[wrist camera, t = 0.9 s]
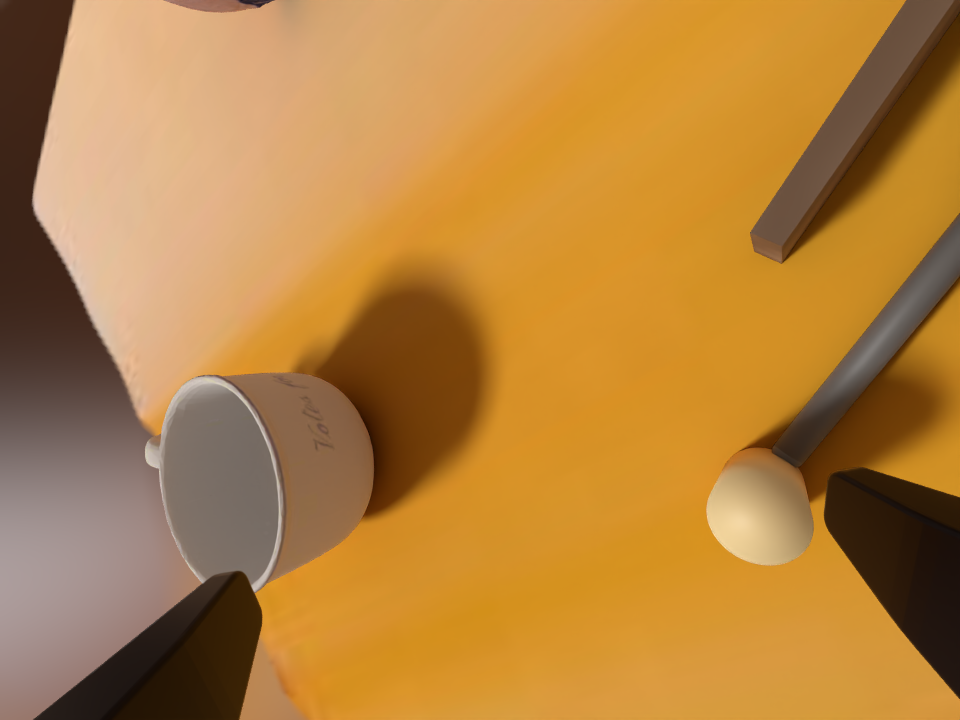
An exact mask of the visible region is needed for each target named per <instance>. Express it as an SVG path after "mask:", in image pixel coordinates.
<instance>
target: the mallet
mask: <svg viewBox="0 0 960 720" xmlns="http://www.w3.org/2000/svg"><path fill="white" fill-rule="evenodd" d="M959 277H960V213H959V215H958V216H957V217H956V218H955V220H954V221H953V222H952V223H951V225H950V226H949V227H948V228H947V230H946V231H945V232H944V233H943V235H942V236H941V237H940V238H939V240H938V241H937V242H936V243H935V245H934V246H933V247H932V248H931V250H930V251H929V252H928V253H927V255H926V256H925V257H924V258H923V260H922V261H921V262H920V263H919V265H918V266H917V267H916V268H915V270H914V271H913V272H912V273H911V275H910V276H909V277H908V278H907V280H906V281H905V282H904V283H903V285H902V286H901V287H900V288H899V290H898V291H897V292H896V293H895V295H894V296H893V297H892V298H891V300H890V301H889V302H888V303H887V305H886V306H885V307H884V308H883V310H882V311H881V312H880V313H879V315H878V316H877V317H876V318H875V320H874V321H873V322H872V323H871V325H870V326H869V327H868V328H867V329H866V331H865V332H864V333H863V334H862V336H861V337H860V338H859V339H858V341H857V342H856V343H855V344H854V346H853V347H852V348H851V349H850V351H849V352H848V353H847V354H846V356H845V357H844V358H843V359H842V361H841V362H840V363H839V364H838V366H837V367H836V368H835V369H834V371H833V372H832V373H831V374H830V376H829V377H828V378H827V379H826V381H825V382H824V383H823V384H822V386H821V387H820V388H819V389H818V391H817V392H816V393H815V394H814V396H813V397H812V398H811V399H810V401H809V402H808V403H807V404H806V406H805V407H804V408H803V409H802V411H801V412H800V413H799V414H798V416H797V417H796V418H795V419H794V421H793V422H792V423H791V424H790V426H789V427H788V428H787V429H786V431H785V432H784V433H783V434H782V436H781V437H780V438H779V439H778V441H777V442H776V443H775V444H774V446H773V448H772V449H768V448H760V447H755V448H748V449H744V450H742V451H739V452H737V453H736V454H734V455H733V456H732V457H731V458H730V459H729V460H728V461H727V463H726V464H725V466H724V468H723V470H722V472H721V474H720V476H719V478H718V480H717V482H716V484H715V486H714V488H713V490H712V492H711V494H710V496H709V499H708V502H707V519H708V522H709V526H710V528H711V530H712V532H713V534H714V536H715V537H716V538H717V540H718V541H719V542H720V543H721V544H722V545H723V546H724V547H725V548H726V549H727V550H728V551H729V552H731V553H732V554H734V555H735V556H737V557H739V558H741V559H743V560H745V561H748V562H751V563H754V564H760V565H779V564H784V563H787V562H790V561H792V560H794V559H796V558H797V557H798V556H800V555H801V554H802V553H803V552H804V551H805V550H806V548H807V547H808V546H809V544H810V542H811V539H812V536H813V529H814V528H813V518H812V513H811V509H810V504H809V499H808V495H807V490H806V486H805V481H804V478H803V475H802V473H801V471H800V470H799V468H798V467H799V466H801V465H802V464H803V463H804V462H805V461H806V460H807V458H808V457H809V456H810V455H811V454H812V452H813V451H814V450H815V449H816V448H817V447H818V445H819V444H820V443H821V442H822V441H823V439H824V438H825V437H826V436H827V435H828V433H829V432H830V431H831V430H832V429H833V427H834V426H835V425H836V424H837V423H838V421H839V420H840V419H841V418H842V417H843V415H844V414H845V413H846V412H847V411H848V409H849V408H850V407H851V406H852V405H853V403H854V402H855V401H856V400H857V399H858V397H859V396H860V395H861V394H862V393H863V391H864V390H865V389H866V388H867V387H868V385H869V384H870V383H871V382H872V381H873V380H874V378H875V377H876V376H877V375H878V374H879V372H880V371H881V370H882V369H883V368H884V366H885V365H886V364H887V363H888V362H889V360H890V359H891V358H892V357H893V356H894V354H895V353H896V352H897V351H898V350H899V348H900V347H901V346H902V345H903V344H904V342H905V341H906V340H907V339H908V338H909V336H910V335H911V334H912V333H913V332H914V330H915V329H916V328H917V327H918V326H919V324H920V323H921V322H922V321H923V320H924V318H925V317H926V316H927V315H928V314H929V313H930V311H931V310H932V309H933V308H934V307H935V305H936V304H937V303H938V302H939V301H940V299H941V298H942V297H943V296H944V295H945V293H946V292H947V291H948V290H949V289H950V287H951V286H952V285H953V284H954V283H955V281H956V280H957V279H958V278H959Z"/></svg>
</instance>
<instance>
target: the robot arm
mask: <svg viewBox="0 0 960 720" xmlns="http://www.w3.org/2000/svg"><path fill="white" fill-rule="evenodd" d="M824 520H825V524H826V527H827V529H828V531H829V532H830V534H831V535H832V537H833V538H834V539H835V541H836V542H837V544H838V545H839V546H840V548H841V549H842V550H843V552H844V553H845V555H846V556H847V557H848V559H849V560H850V561H851V563H852V564H853V566H854V567H855V568H856V570H857V571H858V573H859V574H860V575H861V577H862V578H863V579H864V581H865V582H866V584H867V585H868V586H869V588H870V589H871V590H872V592H873V593H874V595H875V596H876V597H877V599H878V600H879V602H880V603H881V604H882V606H883V607H884V608H885V610H886V611H887V613H888V614H889V615H890V617H891V618H892V619H893V620H894V622H895V623H896V624H897V626H898V627H899V628H900V630H901V631H902V632H903V633H904V634H905V636H906V637H907V638H908V639H909V641H910V642H911V643H912V644H913V645H914V647H915V648H916V649H917V650H918V651H919V652H920V654H921V655H922V656H923V657H924V658H925V659H926V661H927V662H928V663H929V664H930V665H931V666H932V668H933V669H934V670H935V671H936V672H937V673H938V675H939V676H940V677H941V678H942V679H943V680H944V682H945V683H946V684H947V685H948V686H949V687H950V689H951V690H952V691H953V692H954V693H955V694H956V696H957V697H958V698H959V699H960V497H957V496H954V495H950V494H947V493H944V492H941V491H938V490H934V489H931V488H928V487H925V486H922V485H918V484H915V483H912V482H909V481H906V480H902V479H899V478H896V477H893V476H890V475H886V474H883V473H880V472H877V471H874V470H870V469H867V468H863V467H854V468H848V469H842V470H836V471H834V472H832V473H831V474H830V475H829V477H828V480H827V489H826V498H825V508H824ZM261 627H262V610H261V607H260V605H259V602H258V600H257V598H256V596H255V593H254V591H253V589H252V586H251V584H250V582H249V580H248V577H247V576H246V574H245V573H244V572H242V571H231V572H225V573H219V574H215V575H213V576H211V577H210V578H209V579H207V580H206V581H205V582H204V583H202V584H201V585H200V586H199V587H197V588H196V589H195V590H194V591H192V593H190V594H189V595H187V596H186V597H185V598H184V599H183V600H181V601H180V602H179V603H178V604H176V605H175V606H174V607H173V608H171V609H170V610H169V611H168V612H166V613H165V614H164V615H163V616H161V617H160V618H159V619H158V620H156V621H155V622H154V623H153V624H151V625H150V626H149V627H148V628H146V629H145V630H144V631H143V632H141V633H140V634H139V635H138V636H137V637H135V638H134V639H133V640H132V641H131V642H129V643H128V644H127V645H125V646H124V647H123V648H122V649H120V650H119V651H118V652H117V653H115V654H114V655H113V656H112V657H111V658H109V659H108V660H107V661H105V662H104V663H103V664H102V665H100V667H98V668H97V669H95V670H94V671H93V672H92V673H91V674H89V675H88V676H87V677H86V678H84V679H83V680H82V681H81V682H80V683H78V684H77V685H76V686H74V687H73V688H72V689H71V690H69V691H68V692H67V693H66V694H64V695H63V696H62V697H61V698H59V699H58V700H57V701H56V702H54V703H53V704H52V705H51V706H50V707H48V708H47V709H46V710H45V711H43V712H42V713H41V714H40V715H38V716H37V717H36V718H35V719H34V720H239V719H240V715H241V710H242V707H243V702H244V698H245V694H246V689H247V686H248V681H249V677H250V673H251V668H252V665H253V661H254V656H255V652H256V648H257V644H258V640H259V635H260V631H261Z"/></svg>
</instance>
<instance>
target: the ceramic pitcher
mask: <svg viewBox="0 0 960 720" xmlns="http://www.w3.org/2000/svg"><path fill="white" fill-rule="evenodd" d="M165 1H167V2H170V3H173V4H176V5H180V6H183V7H186V8H190V9H194V10H200V11H205V12H236V11H241V10H246V9H252V8H260V7H261V6H262V5H264V4H266V3H269V2H271V1H274V0H165Z"/></svg>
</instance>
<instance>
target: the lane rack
mask: <svg viewBox="0 0 960 720" xmlns="http://www.w3.org/2000/svg"><path fill="white" fill-rule="evenodd" d="M959 13H960V0H906V2H905V3H904V5H903V6H902V8H901V9H900V11H899V12H898V14H897V15H896V17H895V18H894V20H893V21H892V23H891V24H890V26H889V27H888V28H887V30H886V31H885V33H884V34H883V36H882V37H881V39H880V40H879V42H878V43H877V45H876V46H875V48H874V49H873V51H872V52H871V54H870V55H869V57H868V58H867V60H866V61H865V63H864V64H863V66H862V67H861V69H860V70H859V72H858V73H857V75H856V76H855V78H854V79H853V80H852V82H851V83H850V85H849V86H848V88H847V89H846V91H845V92H844V94H843V95H842V97H841V98H840V100H839V101H838V103H837V104H836V106H835V107H834V109H833V110H832V112H831V113H830V115H829V116H828V118H827V119H826V121H825V122H824V124H823V125H822V127H821V128H820V130H819V131H818V132H817V134H816V135H815V137H814V138H813V140H812V141H811V143H810V144H809V146H808V147H807V149H806V150H805V152H804V153H803V155H802V156H801V158H800V159H799V161H798V162H797V164H796V165H795V167H794V168H793V170H792V171H791V173H790V174H789V176H788V177H787V179H786V180H785V182H784V183H783V185H782V186H781V187H780V189H779V190H778V192H777V193H776V195H775V196H774V198H773V199H772V201H771V202H770V204H769V205H768V207H767V208H766V210H765V211H764V213H763V214H762V216H761V217H760V219H759V220H758V222H757V223H756V225H755V226H754V228H753V229H752V231H751V232H750V235H751V239H752V243H753V248H754V252H757V253H759V254H761V255H763V256H766V257H768V258H770V259H772V260H775V261H777V262H779V263H781V264H782V262H783V261H784V260H785V258H786V257H787V255H788V254H789V253H790V251H791V250H792V248H793V247H794V245H795V244H796V243H797V241H798V240H799V238H800V237H801V236H802V234H803V233H804V231H805V230H806V229H807V227H808V226H809V224H810V223H811V221H812V220H813V219H814V217H815V216H816V214H817V213H818V212H819V210H820V209H821V207H822V206H823V205H824V203H825V202H826V200H827V199H828V198H829V196H830V195H831V193H832V192H833V190H834V189H835V188H836V186H837V185H838V183H839V182H840V181H841V179H842V178H843V176H844V175H845V174H846V172H847V171H848V169H849V168H850V166H851V165H852V164H853V162H854V161H855V159H856V158H857V157H858V155H859V154H860V152H861V151H862V150H863V148H864V147H865V145H866V144H867V142H868V141H869V140H870V138H871V137H872V135H873V134H874V133H875V131H876V130H877V128H878V127H879V126H880V124H881V123H882V121H883V120H884V118H885V117H886V116H887V114H888V113H889V111H890V110H891V109H892V107H893V106H894V104H895V103H896V102H897V100H898V99H899V97H900V96H901V94H902V93H903V92H904V90H905V89H906V87H907V86H908V85H909V83H910V82H911V80H912V79H913V78H914V76H915V75H916V73H917V72H918V70H919V69H920V68H921V66H922V65H923V63H924V62H925V61H926V59H927V58H928V56H929V55H930V54H931V52H932V51H933V49H934V48H935V46H936V45H937V44H938V42H939V41H940V39H941V38H942V37H943V35H944V34H945V32H946V31H947V30H948V28H949V27H950V25H951V24H952V22H953V21H954V20H955V18H956V17H957V15H958V14H959Z"/></svg>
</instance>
